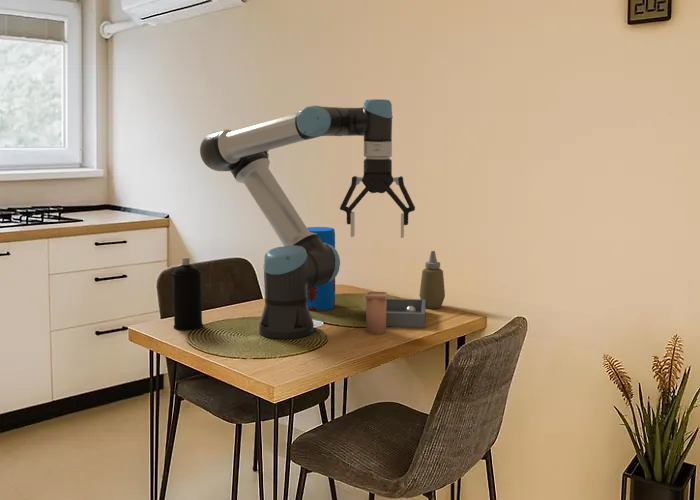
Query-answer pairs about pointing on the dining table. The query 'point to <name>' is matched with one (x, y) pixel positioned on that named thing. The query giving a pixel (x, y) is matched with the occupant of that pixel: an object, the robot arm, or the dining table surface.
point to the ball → (410, 309)
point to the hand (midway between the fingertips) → (377, 236)
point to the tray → (400, 317)
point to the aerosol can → (187, 297)
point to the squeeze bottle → (432, 283)
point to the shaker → (376, 312)
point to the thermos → (325, 294)
